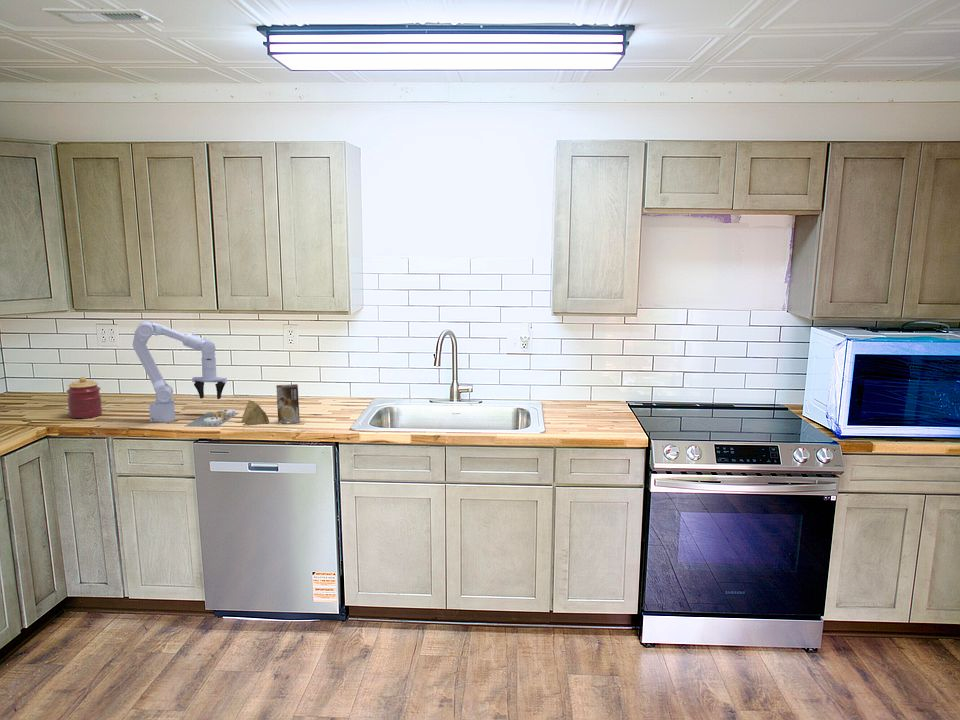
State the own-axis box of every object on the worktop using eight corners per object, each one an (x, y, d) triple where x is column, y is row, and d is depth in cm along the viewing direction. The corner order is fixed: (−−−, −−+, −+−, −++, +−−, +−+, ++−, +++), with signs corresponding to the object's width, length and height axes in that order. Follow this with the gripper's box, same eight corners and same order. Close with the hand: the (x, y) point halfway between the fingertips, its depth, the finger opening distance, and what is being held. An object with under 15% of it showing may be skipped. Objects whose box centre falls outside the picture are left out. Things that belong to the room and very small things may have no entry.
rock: (275, 415, 289) (255, 410, 291) (269, 403, 282) (249, 398, 285) (262, 435, 282) (242, 429, 284) (255, 422, 276) (235, 417, 278)
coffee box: (299, 419, 292) (298, 383, 290) (299, 423, 286) (298, 386, 284) (277, 420, 290) (276, 384, 287) (277, 424, 284) (276, 387, 281)
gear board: (184, 428, 275) (183, 419, 274) (208, 414, 298) (208, 405, 298) (217, 429, 275) (217, 419, 274) (239, 414, 298) (239, 406, 298)
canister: (92, 410, 302) (89, 372, 299) (108, 414, 296) (105, 376, 293) (62, 416, 291) (59, 377, 288) (78, 420, 285) (75, 380, 282)
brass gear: (210, 420, 284) (210, 414, 283) (216, 417, 289) (215, 411, 289) (223, 421, 284) (223, 414, 283) (228, 417, 289) (228, 411, 289)
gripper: (229, 366, 292) (230, 396, 294) (196, 366, 292) (198, 395, 295) (222, 369, 285) (223, 400, 287) (189, 368, 285) (191, 399, 288)
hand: (210, 398), depth 290 cm, fingers open, 7 cm apart
